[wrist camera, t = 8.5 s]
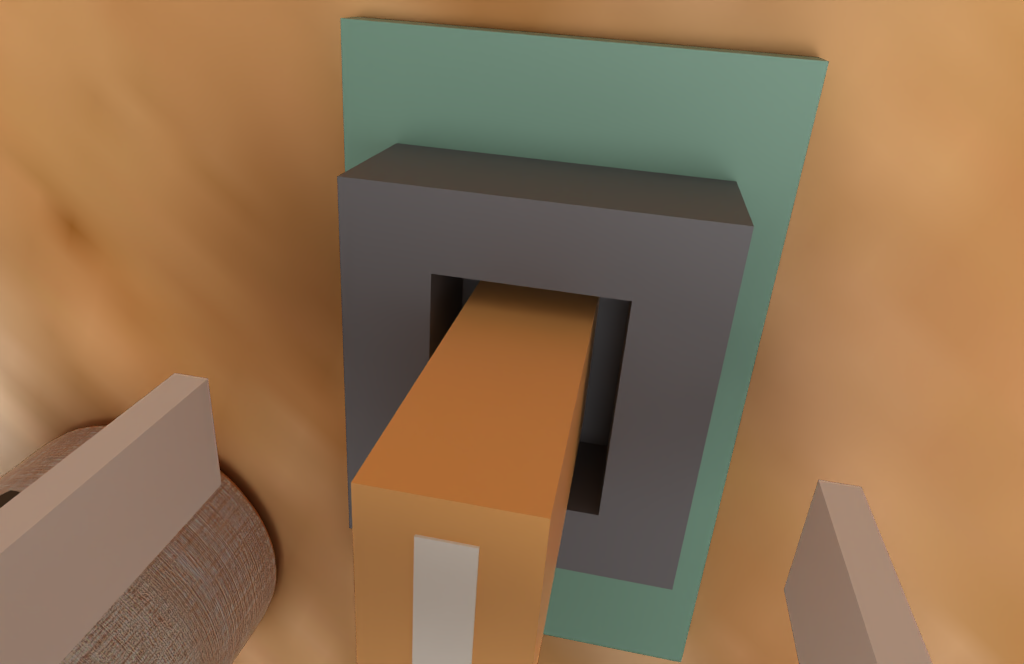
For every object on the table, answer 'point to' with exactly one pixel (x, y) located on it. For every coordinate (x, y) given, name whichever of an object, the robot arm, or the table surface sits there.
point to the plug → (474, 485)
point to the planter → (178, 580)
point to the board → (614, 130)
